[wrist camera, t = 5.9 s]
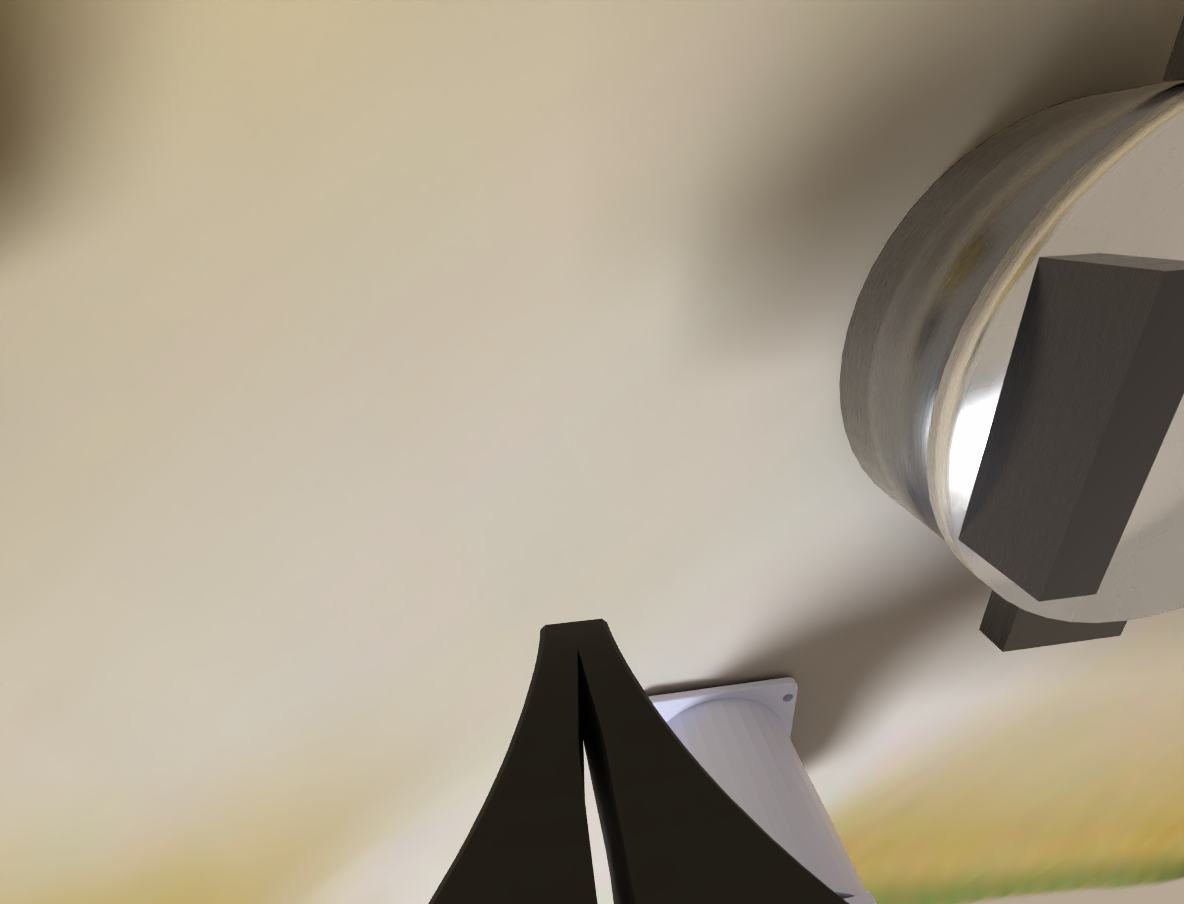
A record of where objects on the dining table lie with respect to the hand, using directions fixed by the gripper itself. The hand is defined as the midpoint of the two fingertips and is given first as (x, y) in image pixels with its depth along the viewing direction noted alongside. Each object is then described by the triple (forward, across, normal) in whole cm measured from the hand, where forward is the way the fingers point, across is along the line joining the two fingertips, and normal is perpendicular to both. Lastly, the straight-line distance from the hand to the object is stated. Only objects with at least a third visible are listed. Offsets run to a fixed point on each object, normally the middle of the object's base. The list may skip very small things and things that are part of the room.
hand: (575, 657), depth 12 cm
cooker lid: (+4, -19, -3) cm, 20 cm away
